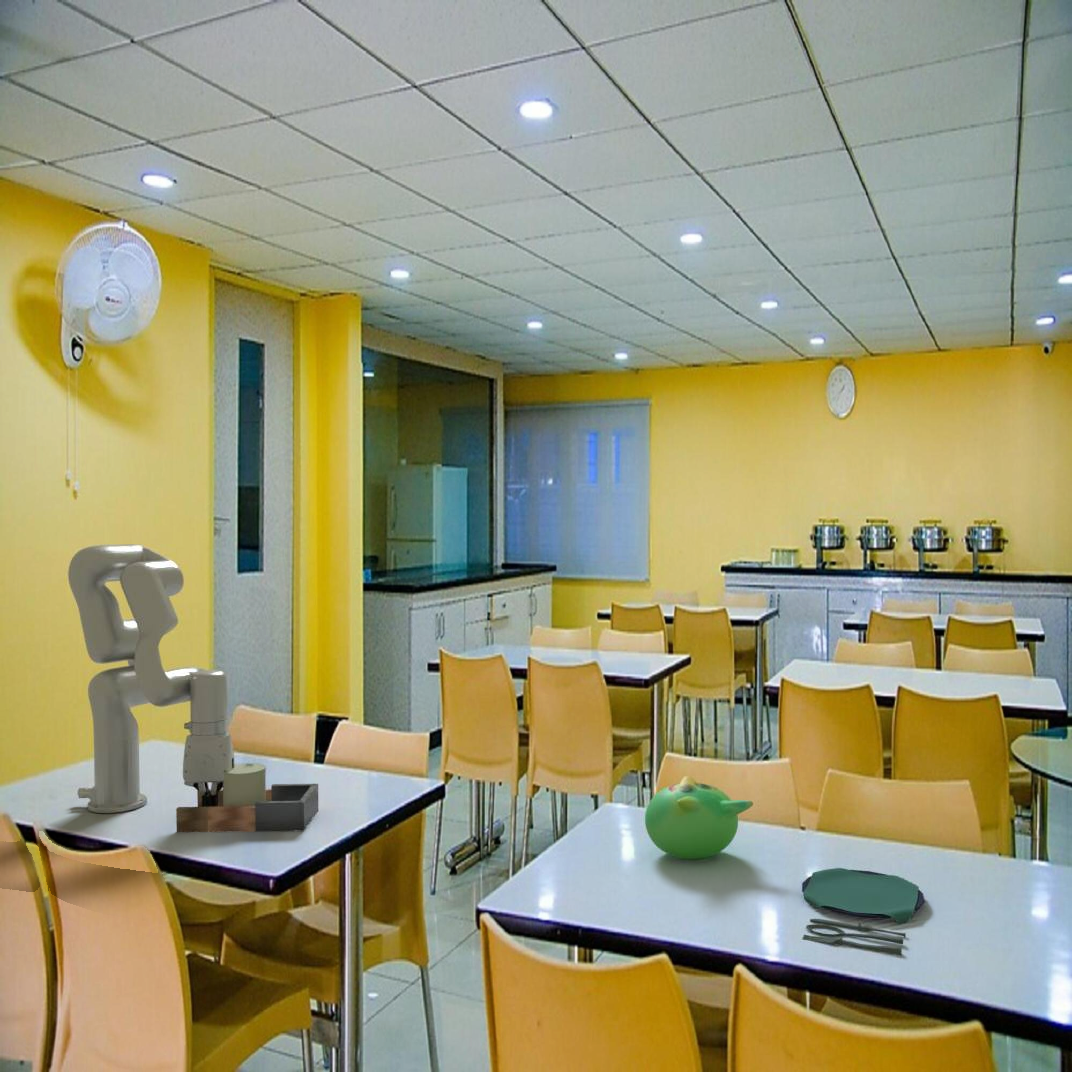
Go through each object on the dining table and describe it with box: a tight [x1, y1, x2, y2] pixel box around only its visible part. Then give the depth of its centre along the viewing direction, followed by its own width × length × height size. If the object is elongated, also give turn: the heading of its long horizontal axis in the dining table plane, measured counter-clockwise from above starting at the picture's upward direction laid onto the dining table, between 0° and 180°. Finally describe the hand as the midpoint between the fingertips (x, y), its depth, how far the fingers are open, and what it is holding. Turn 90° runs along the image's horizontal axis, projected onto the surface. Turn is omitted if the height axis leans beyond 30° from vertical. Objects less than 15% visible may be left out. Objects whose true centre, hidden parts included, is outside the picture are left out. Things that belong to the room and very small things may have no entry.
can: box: [222, 762, 267, 806], centre depth 210 cm, size 9×9×12 cm
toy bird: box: [644, 775, 754, 860], centre depth 185 cm, size 18×17×15 cm
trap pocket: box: [255, 783, 320, 832], centre depth 210 cm, size 10×14×6 cm
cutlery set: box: [801, 867, 926, 956], centre depth 159 cm, size 20×30×2 cm, turn 154°
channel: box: [175, 788, 272, 833], centre depth 209 cm, size 16×14×5 cm
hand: (210, 811), depth 209 cm, fingers closed
